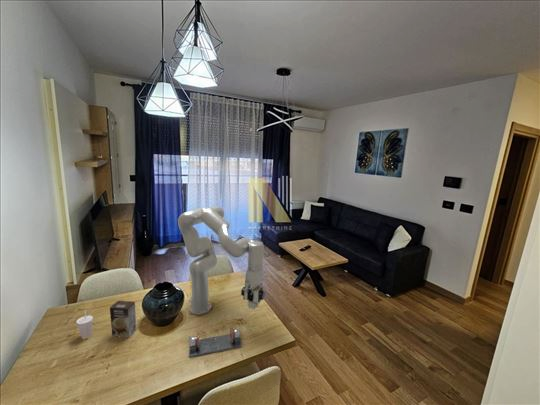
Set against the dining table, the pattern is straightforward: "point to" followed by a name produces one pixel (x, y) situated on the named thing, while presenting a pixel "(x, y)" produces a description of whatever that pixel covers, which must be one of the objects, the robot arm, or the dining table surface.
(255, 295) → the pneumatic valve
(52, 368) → the dining table surface
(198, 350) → the grey bracket
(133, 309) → the coffee box
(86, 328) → the smoothie
